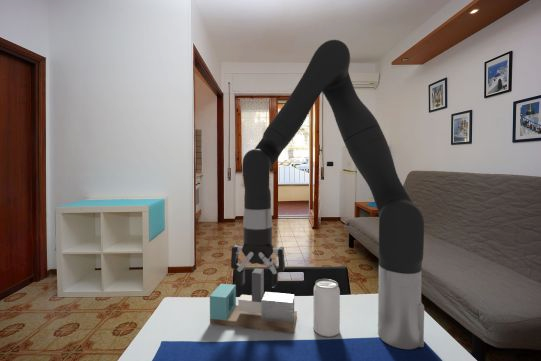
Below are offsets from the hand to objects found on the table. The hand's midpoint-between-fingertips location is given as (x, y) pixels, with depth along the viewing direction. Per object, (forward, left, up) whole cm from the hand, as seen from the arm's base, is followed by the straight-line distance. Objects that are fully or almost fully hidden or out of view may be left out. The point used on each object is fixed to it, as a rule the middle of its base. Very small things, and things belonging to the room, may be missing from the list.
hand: (257, 285), depth 73 cm
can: (-18, +1, -10) cm, 21 cm away
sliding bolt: (-2, 0, -7) cm, 7 cm away
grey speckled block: (-5, 0, -8) cm, 10 cm away
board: (+1, 0, -10) cm, 10 cm away
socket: (+10, 0, -8) cm, 13 cm away
